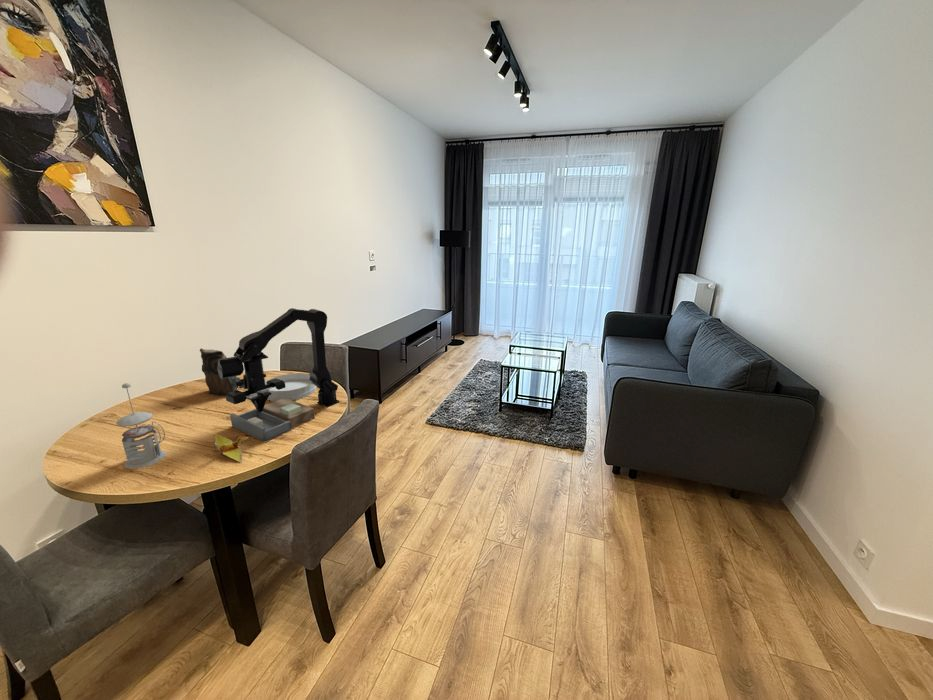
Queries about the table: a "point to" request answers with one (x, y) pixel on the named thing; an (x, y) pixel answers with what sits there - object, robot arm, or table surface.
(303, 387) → the dish
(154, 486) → the table surface
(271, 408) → the taupe pedestal platform
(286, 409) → the sage tile
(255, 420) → the cream tile
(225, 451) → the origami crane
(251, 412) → the box
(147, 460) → the french press
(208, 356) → the owl
